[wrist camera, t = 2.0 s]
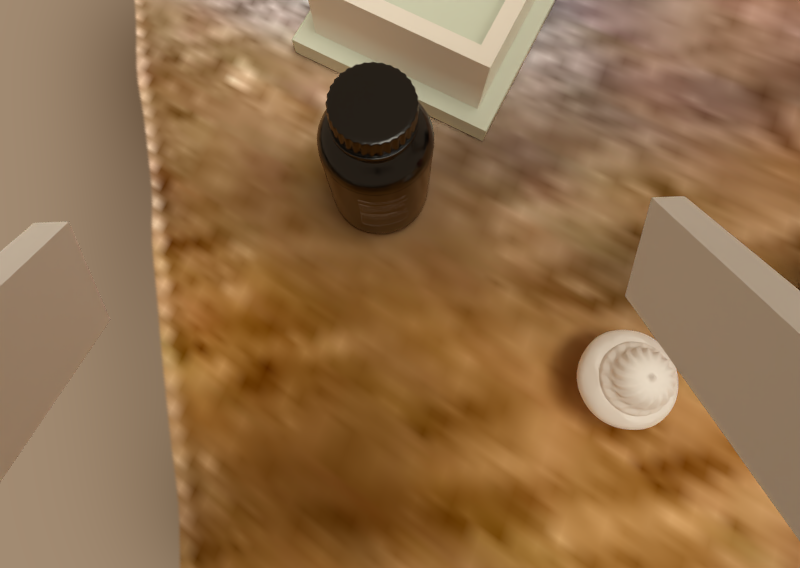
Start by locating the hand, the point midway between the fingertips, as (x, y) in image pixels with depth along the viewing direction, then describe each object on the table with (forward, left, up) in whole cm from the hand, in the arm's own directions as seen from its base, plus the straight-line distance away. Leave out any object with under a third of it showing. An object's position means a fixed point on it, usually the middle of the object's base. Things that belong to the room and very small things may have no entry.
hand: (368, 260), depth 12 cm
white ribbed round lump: (-5, +15, -24) cm, 29 cm away
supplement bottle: (-10, -5, -24) cm, 27 cm away
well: (-25, -8, -24) cm, 35 cm away
